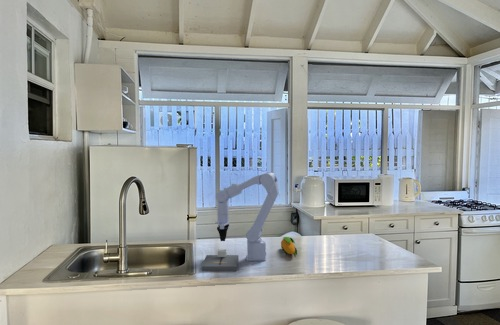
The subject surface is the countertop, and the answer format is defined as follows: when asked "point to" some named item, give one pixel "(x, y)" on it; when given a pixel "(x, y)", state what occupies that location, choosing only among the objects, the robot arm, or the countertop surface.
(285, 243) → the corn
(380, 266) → the countertop surface
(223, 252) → the fader
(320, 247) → the countertop surface
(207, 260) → the panel
